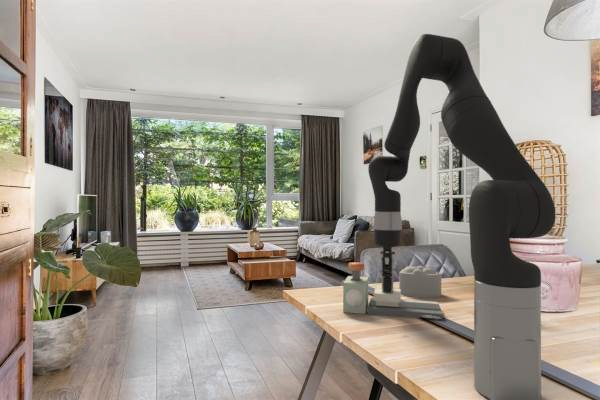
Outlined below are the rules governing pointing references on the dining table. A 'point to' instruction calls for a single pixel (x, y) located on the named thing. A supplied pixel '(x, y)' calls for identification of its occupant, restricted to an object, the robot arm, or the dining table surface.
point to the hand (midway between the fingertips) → (387, 289)
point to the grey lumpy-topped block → (420, 282)
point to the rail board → (406, 309)
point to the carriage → (387, 296)
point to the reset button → (356, 270)
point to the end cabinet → (355, 295)
